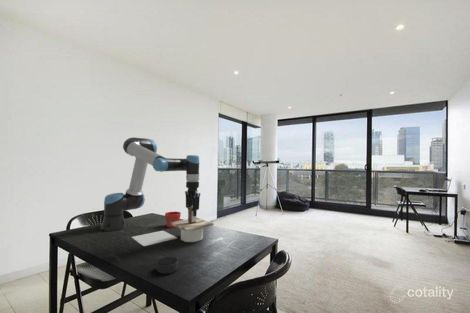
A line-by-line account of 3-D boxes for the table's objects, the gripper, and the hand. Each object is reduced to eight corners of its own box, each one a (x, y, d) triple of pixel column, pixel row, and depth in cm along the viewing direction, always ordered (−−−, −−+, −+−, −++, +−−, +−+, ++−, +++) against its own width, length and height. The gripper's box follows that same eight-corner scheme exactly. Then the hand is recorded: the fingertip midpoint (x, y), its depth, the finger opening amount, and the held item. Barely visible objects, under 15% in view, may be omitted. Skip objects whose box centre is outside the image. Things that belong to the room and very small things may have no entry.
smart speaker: (170, 263, 102) (170, 254, 102) (182, 269, 96) (182, 260, 96) (152, 270, 95) (152, 260, 95) (163, 277, 90) (164, 267, 90)
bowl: (177, 239, 134) (177, 227, 134) (195, 234, 142) (195, 223, 143) (188, 244, 125) (188, 231, 126) (206, 239, 133) (206, 227, 134)
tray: (131, 238, 135) (131, 237, 135) (162, 231, 149) (162, 230, 149) (143, 247, 121) (143, 246, 121) (177, 239, 134) (177, 238, 134)
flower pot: (173, 223, 168) (173, 210, 168) (183, 226, 161) (183, 212, 162) (161, 227, 159) (161, 213, 159) (171, 229, 153) (171, 215, 153)
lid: (170, 224, 135) (171, 207, 135) (196, 219, 147) (196, 203, 147) (186, 231, 121) (186, 212, 122) (213, 225, 134) (213, 207, 134)
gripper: (180, 180, 138) (179, 219, 138) (194, 182, 126) (194, 224, 126) (190, 180, 143) (190, 217, 143) (205, 181, 131) (205, 222, 131)
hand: (192, 220), depth 134 cm, fingers closed on lid, 3 cm apart
